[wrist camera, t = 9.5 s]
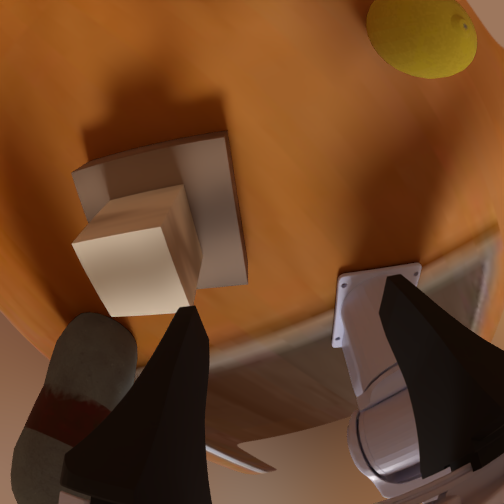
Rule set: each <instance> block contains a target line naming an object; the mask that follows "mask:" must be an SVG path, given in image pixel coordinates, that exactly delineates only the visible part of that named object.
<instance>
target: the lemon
mask: <svg viewBox="0 0 504 504" xmlns="http://www.w3.org/2000/svg"><path fill="white" fill-rule="evenodd" d="M366 28H367V33H368V37H369V39H370V41H371V44H372V46H373V47H374V49H375V50H376V51H377V53H378V54H379V55H380V56H381V57H382V58H383V59H384V60H385V61H386V62H387V63H388V64H390V65H391V66H393V67H394V68H396V69H397V70H399V71H402V72H404V73H407V74H409V75H412V76H416V77H422V78H428V79H434V78H442V77H449V76H452V75H454V74H457V73H459V72H461V71H463V70H464V69H466V68H467V67H468V65H469V64H470V63H471V62H472V61H473V58H474V56H475V54H476V49H477V35H476V32H475V28H474V25H473V23H472V21H471V19H470V17H469V16H468V14H467V13H466V11H465V10H464V9H463V8H462V7H461V6H460V4H459V3H458V2H456V1H455V0H375V1H374V2H373V3H372V4H371V6H370V8H369V11H368V14H367V20H366Z"/></svg>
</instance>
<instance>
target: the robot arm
mask: <svg viewBox="0 0 504 504" xmlns="http://www.w3.org/2000/svg"><path fill="white" fill-rule="evenodd" d="M421 269H422V266H421V265H420V263H411V264H405V265H399V266H392V267H386V268H379V269H372V270H365V271H358V272H351V273H344V274H341V275H340V276H339V277H338V282H337V295H336V306H335V316H334V326H333V334H332V347H335V348H336V347H342V349H343V352H344V356H345V360H346V363H347V367H348V371H349V374H350V378H351V382H352V386H353V389H354V392H355V394H356V396H357V398H356V399H357V403H358V407H359V409H358V410H356V411H355V412H354V413H353V414H352V415H351V418H350V421H349V425H348V429H347V441H348V446H349V451H350V454H351V457H352V459H353V461H354V463H355V465H356V466H357V468H358V469H359V470H360V472H362V473H363V474H364V475H366V476H367V477H368V478H369V479H370V480H371V481H372V482H373V483H374V484H375V486H376V487H377V488H378V490H379V491H380V492H381V494H382V496H383V497H385V498H390V499H387V500H384V501H381V502H378V503H374V504H420V503H423V504H504V351H503V350H501V349H500V348H498V347H496V346H494V345H493V344H491V343H489V342H488V341H486V340H484V339H483V338H481V337H480V336H478V335H477V334H475V333H474V332H472V331H471V330H469V329H468V328H467V327H465V326H464V325H462V324H461V323H460V322H459V321H457V320H456V319H455V318H453V317H452V316H451V315H449V314H448V313H447V312H446V311H444V310H443V309H442V308H441V307H440V306H438V305H437V304H436V303H435V302H434V301H432V300H431V299H430V298H429V297H428V296H427V295H425V294H424V293H423V292H422V291H421V290H420V289H418V288H417V283H418V280H419V276H420V272H421ZM415 272H416V273H415ZM343 283H345V284H344V285H342V284H343ZM208 374H209V338H208V336H207V334H206V331H205V329H204V326H203V324H202V321H201V319H200V316H199V314H198V311H197V309H196V306H185V307H179V309H178V310H177V312H176V314H175V316H174V317H173V319H172V321H171V323H170V325H169V327H168V329H167V330H166V332H165V334H164V336H163V338H162V339H161V341H160V343H159V345H158V346H157V348H156V350H155V352H154V353H153V355H152V357H151V358H150V360H149V361H148V363H147V365H146V366H145V368H144V369H143V371H142V372H141V374H140V375H139V377H138V378H137V380H136V381H135V383H134V384H133V385H132V387H131V388H130V389H129V391H128V392H127V393H126V395H125V396H124V397H123V398H122V400H121V401H120V402H119V403H118V404H117V406H116V407H115V408H114V409H113V410H112V411H111V413H110V414H109V415H108V416H107V417H106V418H105V419H104V420H103V421H102V422H101V423H100V424H99V425H98V426H97V427H96V428H95V429H94V430H93V431H92V432H91V433H90V434H89V435H88V436H87V437H85V438H84V439H83V440H82V441H80V442H79V443H78V444H77V445H76V446H74V447H73V448H72V449H71V450H69V451H68V452H67V453H65V456H64V460H63V466H62V471H61V478H60V485H61V486H63V487H65V488H68V489H71V490H73V491H76V492H79V493H82V494H85V495H88V496H91V500H85V499H82V498H80V497H77V496H74V495H71V494H69V493H66V492H63V491H61V492H60V495H59V504H212V501H211V495H210V488H209V481H208V472H207V461H206V447H205V407H206V396H207V385H208Z"/></svg>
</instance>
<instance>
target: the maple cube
mask: <svg viewBox="0 0 504 504" xmlns="http://www.w3.org/2000/svg"><path fill="white" fill-rule="evenodd" d="M72 246H73V248H74V250H75V252H76V254H77V256H78V258H79V260H80V262H81V264H82V266H83V268H84V270H85V272H86V274H87V276H88V277H89V279H90V281H91V283H92V285H93V286H94V288H95V290H96V292H97V294H98V295H99V297H100V299H101V300H102V302H103V304H104V306H105V307H106V309H107V311H108V312H109V314H110V315H111V317H120V316H139V315H154V314H168V313H176V312H177V310H178V309H179V307H185V306H193V304H194V299H195V294H196V288H197V283H198V278H199V273H200V269H201V264H202V259H203V254H202V250H201V247H200V243H199V240H198V236H197V233H196V229H195V225H194V222H193V218H192V214H191V211H190V207H189V203H188V200H187V196H186V192H185V188H184V184H181V185H176V186H171V187H166V188H161V189H157V190H152V191H147V192H143V193H138V194H134V195H130V196H126V197H122V198H117V199H113V200H110V201H109V202H108V203H107V204H106V205H105V206H104V207H103V208H102V209H101V210H100V211H99V212H98V214H97V215H96V216H95V217H94V218H93V219H92V220H91V221H90V222H89V224H88V225H87V226H86V227H85V228H84V229H83V231H82V232H81V233H80V234H79V235H78V237H77V238H76V239H75V240H74V241H73V243H72Z"/></svg>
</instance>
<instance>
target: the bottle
mask: <svg viewBox="0 0 504 504" xmlns="http://www.w3.org/2000/svg"><path fill="white" fill-rule="evenodd" d="M136 363H137V345H136V341H135V339H134V337H133V336H132V335H131V333H130V332H129V331H128V330H127V329H126V328H125V327H124V326H122V325H121V324H120V323H118V322H116V321H115V320H113V319H111V318H109V317H107V316H104V315H101V314H97V313H91V312H88V313H82V314H80V315H79V316H77V317H76V318H75V319H74V320H73V321H71V322H70V323H69V324H68V326H67V327H66V328H65V330H64V331H63V333H62V334H61V336H60V337H59V339H58V340H57V342H56V345H55V348H54V351H53V354H52V357H51V360H50V364H49V367H48V371H47V375H46V379H45V383H44V386H43V388H42V390H41V392H40V394H39V396H38V398H37V400H36V402H35V404H34V407H33V409H32V411H31V413H30V415H29V417H28V420H27V422H26V424H25V427H24V429H23V431H22V433H21V435H20V437H19V439H18V441H17V444H16V446H15V448H14V453H13V460H12V468H11V485H12V491H13V493H14V496H15V499H16V501H17V503H18V504H59V495H60V492H61V491H63V492H66V493H69V494H71V495H74V496H77V497H80V498H82V499H85V500H91V496H88V495H85V494H82V493H79V492H76V491H73V490H71V489H68V488H65V487H63V486H61V485H60V478H61V471H62V466H63V460H64V456H65V453H67V452H68V451H69V450H71V449H72V448H73V447H74V446H76V445H77V444H78V443H79V442H80V441H82V440H83V439H84V438H85V437H87V436H88V435H89V434H90V433H91V432H92V431H93V430H94V429H95V428H96V427H97V426H98V425H99V424H100V423H101V422H102V421H103V420H104V419H105V418H106V417H107V416H108V415H109V414H110V413H111V411H112V410H113V409H114V408H115V407H116V406H117V404H118V403H119V402H120V401H121V400H122V398H123V397H124V396H125V395H126V393H127V392H128V391H129V389H130V388H131V387H132V385H133V384H134V378H135V371H136Z"/></svg>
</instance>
